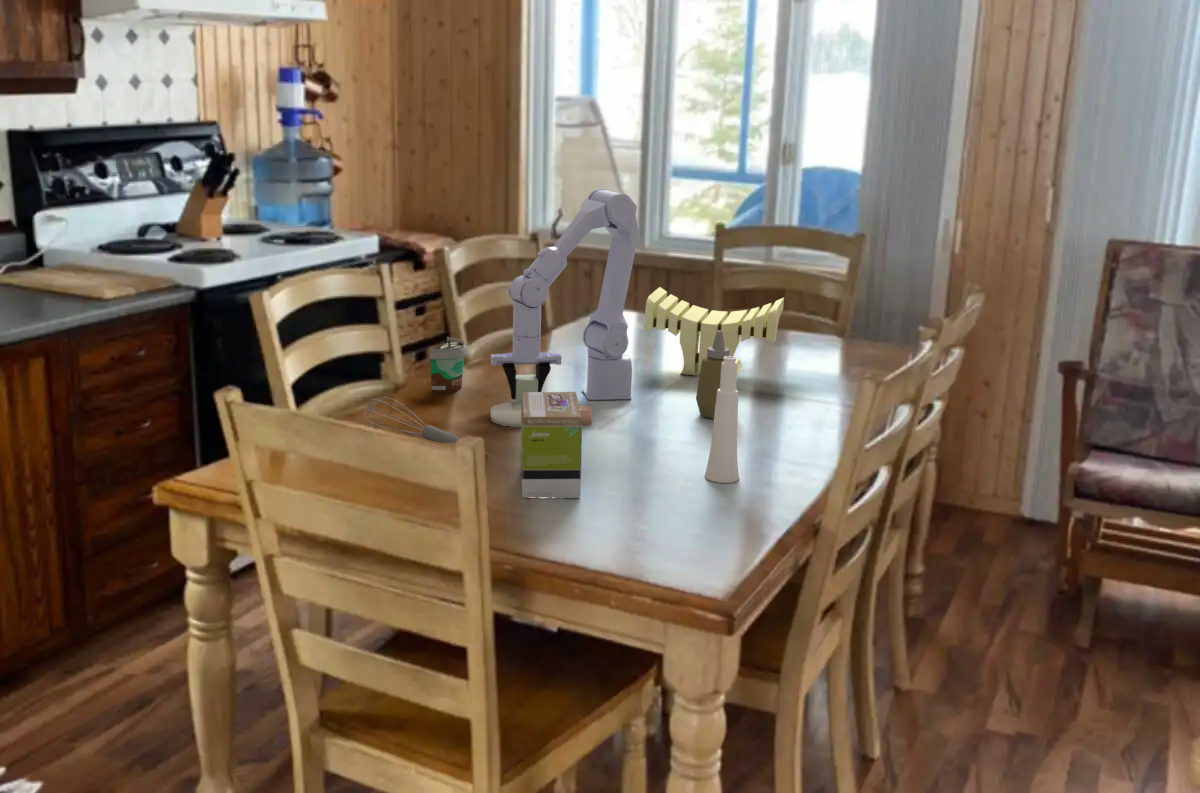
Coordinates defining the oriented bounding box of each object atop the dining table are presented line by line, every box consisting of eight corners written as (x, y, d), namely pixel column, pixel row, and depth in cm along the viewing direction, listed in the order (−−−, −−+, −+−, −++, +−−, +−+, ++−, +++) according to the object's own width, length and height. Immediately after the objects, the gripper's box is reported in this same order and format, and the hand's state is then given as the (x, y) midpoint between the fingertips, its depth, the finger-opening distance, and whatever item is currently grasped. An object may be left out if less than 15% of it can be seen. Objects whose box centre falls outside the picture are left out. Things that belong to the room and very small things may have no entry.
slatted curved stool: (642, 373, 282) (645, 298, 277) (656, 358, 297) (659, 286, 292) (770, 386, 275) (776, 310, 270) (778, 370, 290) (784, 297, 285)
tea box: (519, 469, 215) (520, 389, 211) (575, 470, 215) (578, 390, 211) (520, 500, 200) (522, 414, 196) (581, 500, 201) (584, 415, 197)
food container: (456, 397, 257) (457, 351, 255) (429, 394, 258) (429, 349, 256) (474, 382, 269) (474, 339, 266) (447, 380, 270) (447, 336, 267)
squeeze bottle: (737, 413, 254) (743, 329, 249) (728, 423, 246) (734, 337, 241) (700, 408, 256) (705, 325, 251) (690, 418, 249) (695, 333, 244)
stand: (540, 410, 250) (540, 401, 249) (549, 426, 239) (549, 417, 239) (487, 412, 248) (487, 402, 247) (494, 428, 237) (494, 418, 237)
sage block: (534, 401, 256) (534, 374, 254) (537, 408, 252) (538, 380, 250) (513, 402, 255) (513, 375, 254) (516, 408, 251) (516, 380, 249)
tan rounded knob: (588, 419, 246) (589, 404, 245) (593, 426, 241) (594, 411, 241) (564, 419, 245) (565, 405, 244) (569, 427, 240) (569, 412, 240)
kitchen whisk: (478, 468, 215) (479, 434, 213) (356, 428, 236) (356, 396, 234) (502, 460, 220) (503, 427, 218) (381, 421, 240) (380, 391, 239)
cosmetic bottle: (743, 482, 212) (752, 361, 206) (710, 484, 211) (718, 362, 205) (732, 471, 218) (741, 352, 212) (700, 472, 216) (708, 353, 210)
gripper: (558, 329, 255) (556, 391, 258) (489, 330, 252) (488, 393, 255) (563, 337, 248) (562, 400, 252) (493, 338, 245) (492, 402, 249)
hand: (525, 397), depth 253 cm, fingers closed on sage block, 4 cm apart
